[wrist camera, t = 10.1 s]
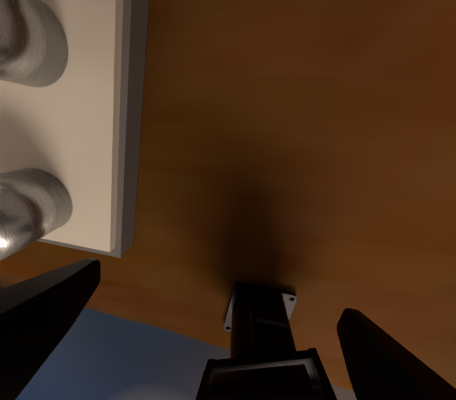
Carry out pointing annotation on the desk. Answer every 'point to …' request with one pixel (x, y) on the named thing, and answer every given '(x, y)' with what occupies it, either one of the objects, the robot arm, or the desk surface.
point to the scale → (86, 122)
